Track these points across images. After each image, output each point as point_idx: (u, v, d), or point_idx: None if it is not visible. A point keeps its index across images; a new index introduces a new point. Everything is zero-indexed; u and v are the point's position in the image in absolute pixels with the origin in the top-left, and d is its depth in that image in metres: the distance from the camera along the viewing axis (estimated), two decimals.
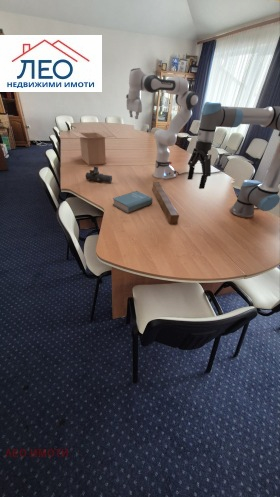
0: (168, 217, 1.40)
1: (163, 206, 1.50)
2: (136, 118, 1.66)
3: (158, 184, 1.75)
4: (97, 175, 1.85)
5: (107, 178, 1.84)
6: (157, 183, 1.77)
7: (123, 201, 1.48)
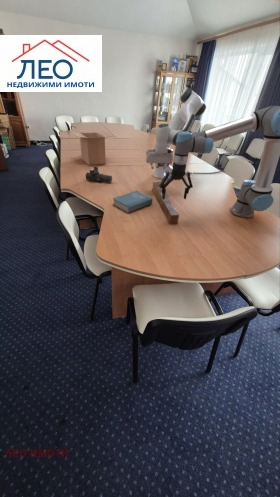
0: (168, 217, 1.40)
1: (163, 206, 1.50)
2: (151, 168, 1.67)
3: (158, 184, 1.75)
4: (97, 175, 1.85)
5: (107, 178, 1.84)
6: (157, 183, 1.77)
7: (123, 201, 1.48)
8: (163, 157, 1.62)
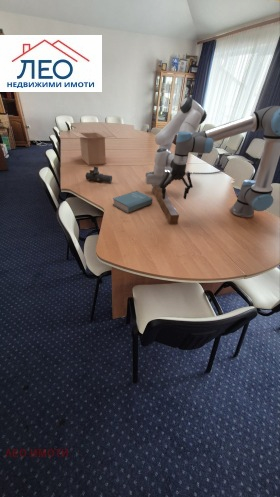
0: (168, 217, 1.40)
1: (163, 206, 1.50)
2: (152, 188, 1.75)
3: (158, 184, 1.75)
4: (97, 175, 1.85)
5: (107, 178, 1.84)
6: None
7: (123, 201, 1.48)
8: (162, 179, 1.70)
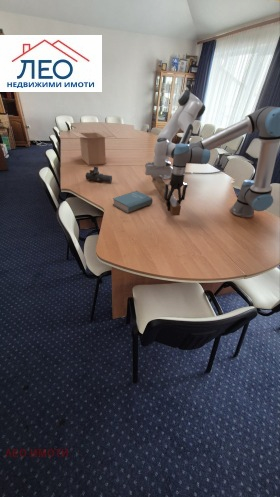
0: (170, 209, 1.37)
1: None
2: (152, 179, 1.72)
3: (158, 175, 1.71)
4: (97, 175, 1.85)
5: (107, 178, 1.84)
6: None
7: (123, 201, 1.48)
8: (162, 169, 1.66)
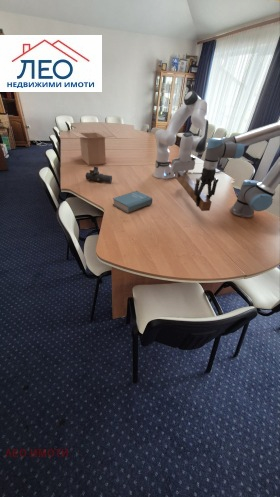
0: (199, 204, 1.37)
1: (192, 193, 1.46)
2: (176, 176, 1.70)
3: (182, 171, 1.71)
4: (97, 175, 1.85)
5: (107, 178, 1.84)
6: None
7: (123, 201, 1.48)
8: (186, 164, 1.66)
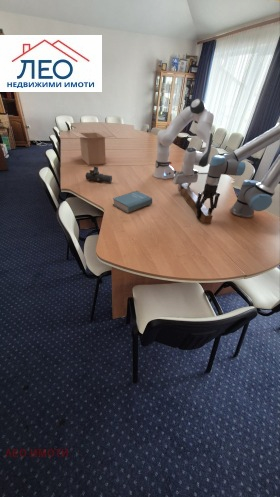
0: (201, 217, 1.43)
1: (194, 206, 1.53)
2: (179, 188, 1.76)
3: (185, 183, 1.77)
4: (97, 175, 1.85)
5: (107, 178, 1.84)
6: None
7: (123, 201, 1.48)
8: (189, 177, 1.72)
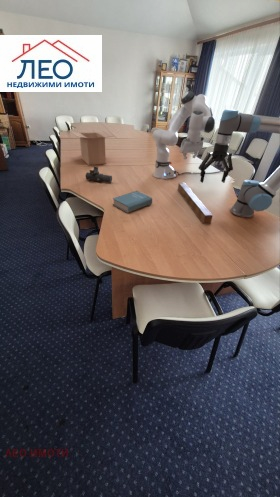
0: (201, 217, 1.43)
1: (194, 206, 1.53)
2: (184, 158, 1.61)
3: (184, 185, 1.78)
4: (97, 175, 1.85)
5: (107, 178, 1.84)
6: (183, 183, 1.80)
7: (123, 201, 1.48)
8: (195, 145, 1.59)
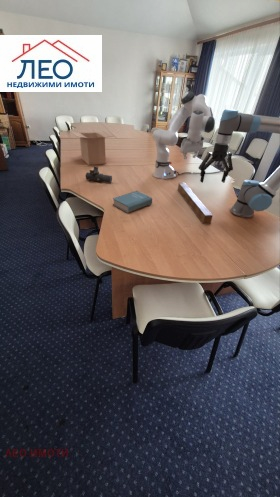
0: (201, 217, 1.43)
1: (194, 206, 1.53)
2: (184, 158, 1.61)
3: (184, 185, 1.78)
4: (97, 175, 1.85)
5: (107, 178, 1.84)
6: (183, 183, 1.80)
7: (123, 201, 1.48)
8: (195, 145, 1.59)
